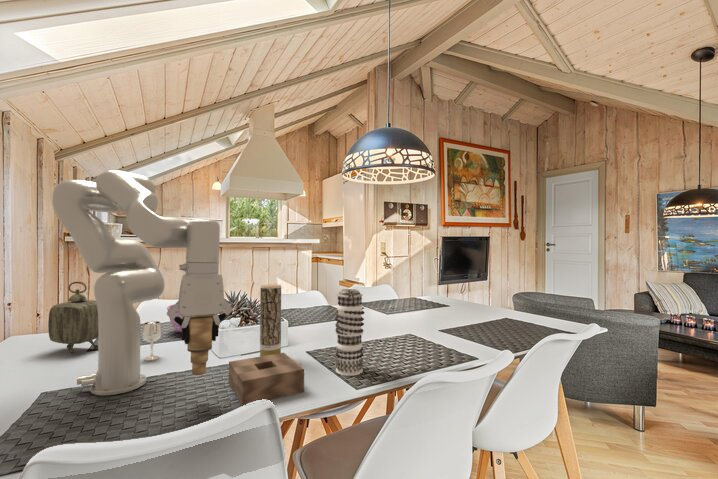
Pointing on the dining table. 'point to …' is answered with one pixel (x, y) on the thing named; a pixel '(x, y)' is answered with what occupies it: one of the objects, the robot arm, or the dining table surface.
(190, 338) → the oak peg
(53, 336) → the tabletop clock
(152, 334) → the wineglass
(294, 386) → the socket block
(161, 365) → the dining table surface
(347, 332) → the patterned tall cylinder
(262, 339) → the bark pattern cylinder
